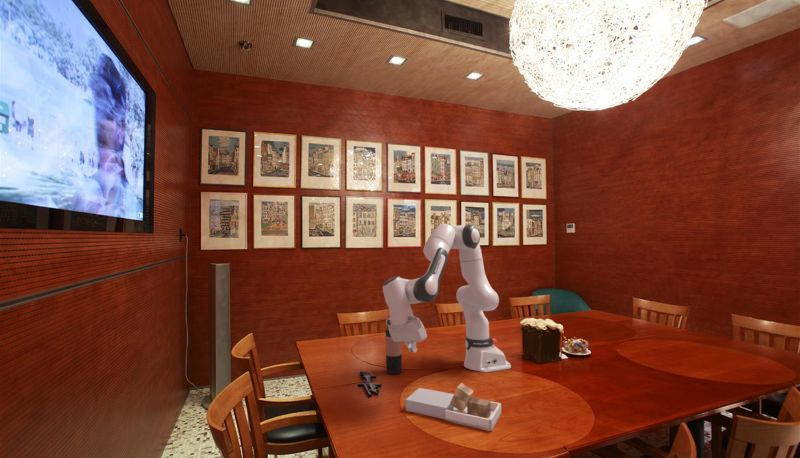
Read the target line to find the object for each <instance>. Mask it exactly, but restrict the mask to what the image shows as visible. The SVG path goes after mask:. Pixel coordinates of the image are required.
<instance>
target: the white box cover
mask: <svg viewBox="0 0 800 458" xmlns="http://www.w3.org/2000/svg"><path fill="white" fill-rule="evenodd" d="M454 394H455V393H449V392H443V391H439V390H433V389H427V388H425V387H424V388H422V387H419V388H418V389H416V390H415V391H414V392H412V394H410V395H409V396H408V397H407V398H406V399H405V411H407V412H410V413H411V412H412V413H416V414H421V415H425V416H429V417H434V418H438V419H442V420H446V419H445V410H450V411H452V410H453V409H454V408H455V407H454V406H452V405H451V404H450V402H451V400H452V398H453V396H454Z"/></svg>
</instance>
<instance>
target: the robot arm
mask: <svg viewBox="0 0 800 458" xmlns="http://www.w3.org/2000/svg"><path fill="white" fill-rule="evenodd" d="M480 241H481V233H480V230H479V229H478V227H477V226H476V225H472V224H465V225H464V224H463V225H461V224H458V225H455V226H452V225H450V224H448V223H441V224H439V225H437V226H436V227H435V229H434V230H433V231H432V232H431V234H430V235H429V237H428V238H427V240H426V241H425V243H424V246H423V250H422V251H423V254H424V256H425V258H426V259H427V260H428V261H429V262H430V263H429V266H428V268H427V270H426V272H425V273H424V275H422V276H420V277H418V278H414V279H406V278H402V277H400V276H398V275H395V276H393V277H390V278H389V279H387V280H386V281H385V280H384V283H382V293H383V296H384V301H385V304H386V305H387V308H388V309H389V318H387V319H386V320H385V324H386V326H387V329H388V330H389V332H390V335H391V338H392V340H393V341H394V342H401V343H403V342H404V344H405V346H406V347H407V348H408V351H409V353H417V352H418V349H417V343H418V342H423V341H425V340H427V337H428V334H427V331H426V328H425V326H424V324H423V322H422V321H421V319H420V318H419V317H417V316H416V315H414V313H413V309H412V306H411V305H413V304H419V303H431V302H433V301H435V300H436V298H437V297H438V295H439V290H440V283H441V279H442V277H443V274H444V272H445V269H446V266H447V263H448V260H449V253H450V251H451V249H452V250H458V251H459V253H458V254H459V262H460V270H461V276H462V277H463V279H464V280H465V282H466V283H467V285H463V286H460V287H459V288H458V289H457V291H456V293H455V294H456V296H455V297H456V300H457V302H458V303H459V305H460V307H461V309H462V313H463V315H464V318H465V331H466V333H465V335H466V336H465V342H464V343H465V348H466V351H465V358H464V363H463V366H464V367H465V368H466V369H468V370H471V371H475V372H476V371H477V372H481V373H490V372H498V371H503V370H504V371H505V370H509V369H511V368H512V365H511V363H510V362H509V361H508V360H506V355H505V354H504V352H503V351H502V350H501V349H499V347H497V346H496V345H495V344H496V343H497V339H495V338H492V337H491V336H490V323H489V320H488V318H487V317H486V316H485V314H484V312H489V311H494V310H495V309H497V308H498V306H499V303H500V298H499V295H498V292H496V291H495V289H493V288H492V286H491V284H490V282H489V281H488V278H487V274H486V272H485V266H484V259H483V254H482V248H481V246H480Z"/></svg>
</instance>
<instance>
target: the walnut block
mask: <svg viewBox="0 0 800 458" xmlns="http://www.w3.org/2000/svg"><path fill="white" fill-rule="evenodd" d="M490 401H491V400H488V399H483V398H479V397H473V396H471V398H470V399H469V400H468V401H467V414H469V415H473V416H478V417H483V418H487V419H489V417H490V415H491V407H490Z"/></svg>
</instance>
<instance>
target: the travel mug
mask: <svg viewBox="0 0 800 458" xmlns="http://www.w3.org/2000/svg"><path fill="white" fill-rule="evenodd" d="M402 357H403V351H402V342H394V341H393V340H392V338H391V335H390V332H389V328H387V329H385V363H386V364H385V368H386V374H388V375H389V376H397V375H400V374H402V368H403V367H402V366H403V363H402V361H403V358H402Z"/></svg>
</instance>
